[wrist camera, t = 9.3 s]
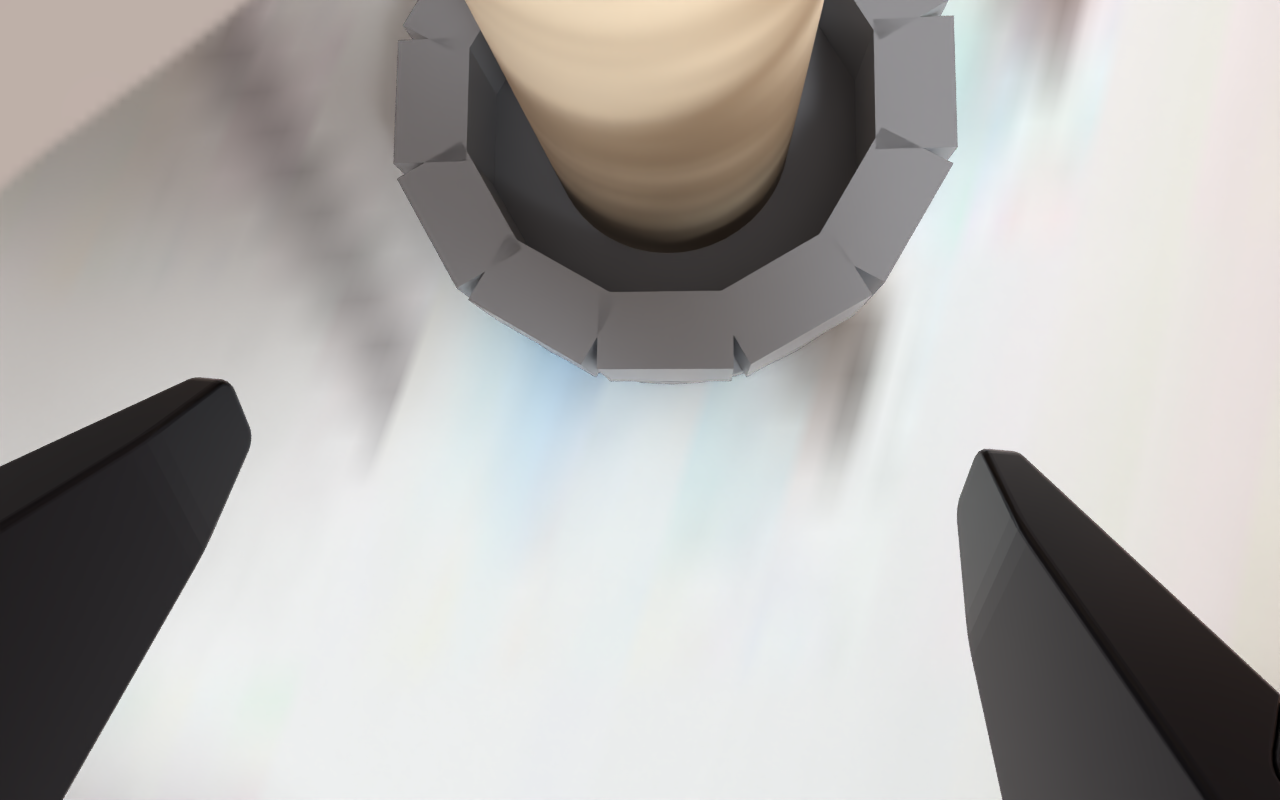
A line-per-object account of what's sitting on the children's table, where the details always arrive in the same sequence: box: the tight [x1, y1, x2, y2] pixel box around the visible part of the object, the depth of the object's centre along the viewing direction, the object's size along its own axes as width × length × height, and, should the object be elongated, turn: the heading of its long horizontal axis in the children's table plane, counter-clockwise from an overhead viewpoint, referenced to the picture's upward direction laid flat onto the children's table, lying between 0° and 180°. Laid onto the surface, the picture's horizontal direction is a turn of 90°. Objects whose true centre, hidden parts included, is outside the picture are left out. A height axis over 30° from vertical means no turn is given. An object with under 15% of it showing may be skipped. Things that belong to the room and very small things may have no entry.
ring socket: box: [394, 0, 958, 384], centre depth 17 cm, size 11×11×3 cm
